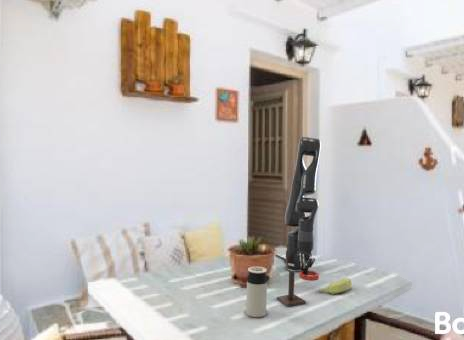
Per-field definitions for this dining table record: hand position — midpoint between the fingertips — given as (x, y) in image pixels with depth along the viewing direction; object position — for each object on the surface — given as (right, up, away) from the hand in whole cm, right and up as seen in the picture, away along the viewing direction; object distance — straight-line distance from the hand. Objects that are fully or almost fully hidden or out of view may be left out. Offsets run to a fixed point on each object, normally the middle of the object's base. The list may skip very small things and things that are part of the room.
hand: (304, 274), depth 186 cm
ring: (+2, 0, -3) cm, 4 cm away
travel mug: (-24, -7, -32) cm, 40 cm away
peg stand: (-8, -7, -18) cm, 21 cm away
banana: (+15, -7, -1) cm, 16 cm away
